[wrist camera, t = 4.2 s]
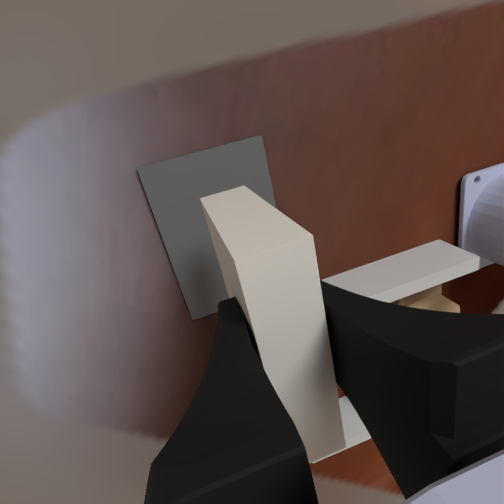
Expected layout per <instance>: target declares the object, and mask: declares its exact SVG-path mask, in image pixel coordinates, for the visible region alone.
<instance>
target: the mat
mask: <svg viewBox="0 0 504 504" xmlns="http://www.w3.org/2000/svg"><path fill="white" fill-rule="evenodd" d="M137 171H138V173H139V176H140V179H141V182H142V184H143V187H144V190H145V193H146V195H147V198H148V201H149V203H150V206H151V209H152V212H153V214H154V217H155V220H156V222H157V225H158V228H159V231H160V233H161V236H162V239H163V242H164V244H165V247H166V250H167V252H168V255H169V258H170V261H171V263H172V266H173V269H174V271H175V274H176V277H177V280H178V282H179V285H180V288H181V291H182V293H183V296H184V299H185V301H186V304H187V307H188V310H189V312H190V315H191V318H192V320H195V319H198V318H201V317H204V316H207V315H210V314H213V313H216V312H218V306H217V305H218V303H219V302H220V301H223V300H226V299H229V295H228V292H227V288H226V285H225V282H224V278H223V275H222V271H221V268H220V265H219V261H218V258H217V255H216V251H215V248H214V245H213V241H212V238H211V235H210V231H209V228H208V225H207V221H206V218H205V214H204V211H203V208H202V204H201V201H200V198H203V197H206V196H210V195H213V194H216V193H220V192H223V191H227V190H230V189H234V188H237V187H241V186H246V187H247V188H248V189H250V190H251V191H252V192H254V193H255V194H257V195H258V196H259V197H261V198H262V199H264V200H265V201H266V202H268V203H269V204H270V205H272V206H273V207H275V208H276V204H275V199H274V194H273V189H272V184H271V179H270V174H269V169H268V164H267V159H266V154H265V149H264V144H263V139H262V135H259V136H255V137H251V138H247V139H244V140H240V141H236V142H232V143H228V144H225V145H221V146H217V147H213V148H210V149H206V150H202V151H198V152H195V153H191V154H187V155H183V156H180V157H176V158H172V159H168V160H164V161H161V162H157V163H153V164H149V165H146V166H142V167H138V168H137Z"/></svg>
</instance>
